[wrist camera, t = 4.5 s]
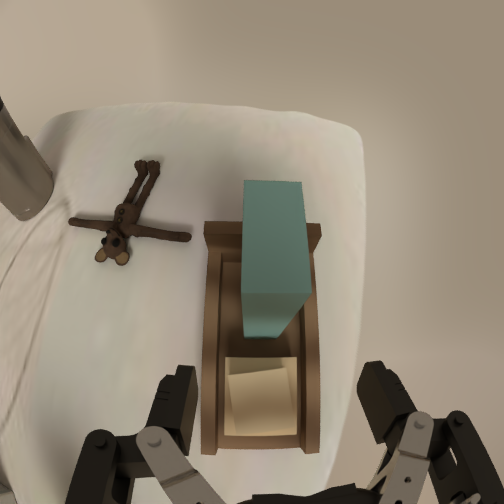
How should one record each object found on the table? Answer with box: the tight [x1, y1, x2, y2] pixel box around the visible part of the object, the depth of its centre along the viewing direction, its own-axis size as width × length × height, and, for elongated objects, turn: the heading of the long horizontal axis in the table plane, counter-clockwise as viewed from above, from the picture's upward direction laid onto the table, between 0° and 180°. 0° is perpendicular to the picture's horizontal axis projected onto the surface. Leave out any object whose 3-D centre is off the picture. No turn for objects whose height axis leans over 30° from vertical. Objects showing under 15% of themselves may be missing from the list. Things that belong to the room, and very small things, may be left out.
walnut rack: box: [201, 221, 322, 455], centre depth 22 cm, size 20×10×7 cm, turn 0°
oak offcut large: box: [224, 357, 297, 436], centre depth 21 cm, size 7×6×2 cm
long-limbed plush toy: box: [68, 160, 192, 266], centre depth 31 cm, size 18×4×14 cm
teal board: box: [241, 180, 312, 339], centre depth 19 cm, size 6×3×15 cm, turn 0°
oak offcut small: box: [228, 368, 295, 435], centre depth 19 cm, size 5×4×2 cm
